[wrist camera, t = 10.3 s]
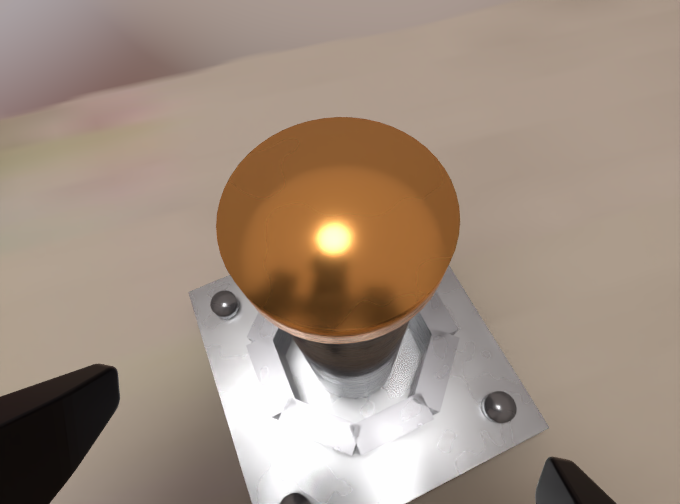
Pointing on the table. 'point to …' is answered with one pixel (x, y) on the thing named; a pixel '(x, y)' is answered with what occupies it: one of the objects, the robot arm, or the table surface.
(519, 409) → the silver bolted socket base
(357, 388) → the copper-capped metal post
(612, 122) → the table surface
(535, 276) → the table surface
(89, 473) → the table surface
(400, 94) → the table surface
